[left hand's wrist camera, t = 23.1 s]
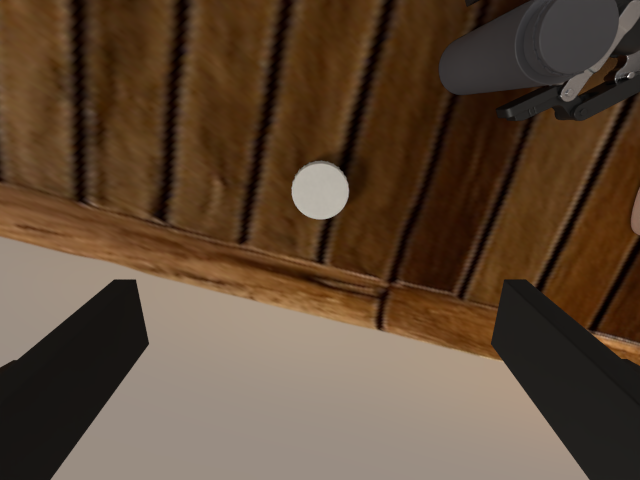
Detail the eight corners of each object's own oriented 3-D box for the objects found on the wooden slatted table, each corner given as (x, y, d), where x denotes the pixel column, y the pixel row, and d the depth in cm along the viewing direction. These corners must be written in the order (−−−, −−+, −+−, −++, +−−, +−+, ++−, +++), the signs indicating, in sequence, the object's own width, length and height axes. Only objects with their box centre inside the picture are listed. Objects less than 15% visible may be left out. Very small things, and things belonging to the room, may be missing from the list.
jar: (434, 45, 32) (527, -8, 17) (488, 28, 31) (629, -41, 17) (443, 101, 33) (534, 94, 19) (494, 86, 33) (628, 66, 19)
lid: (319, 225, 37) (319, 231, 36) (281, 187, 36) (279, 191, 34) (359, 188, 36) (361, 192, 34) (320, 147, 35) (320, 149, 33)
